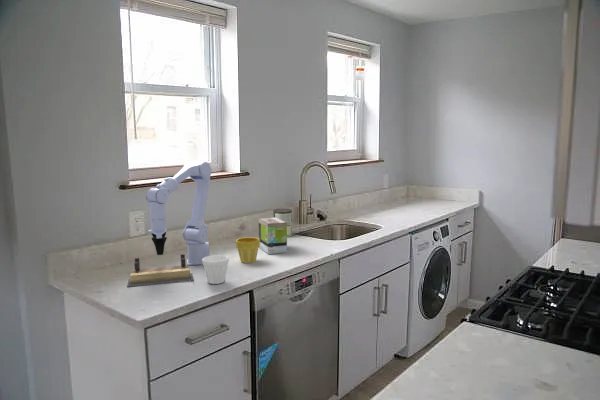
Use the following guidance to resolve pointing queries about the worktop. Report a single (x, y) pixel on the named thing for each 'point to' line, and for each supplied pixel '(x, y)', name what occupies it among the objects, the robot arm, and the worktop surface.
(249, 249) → the plant pot
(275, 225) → the tea box
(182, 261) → the hook rack
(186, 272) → the brass rail
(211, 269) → the cup
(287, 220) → the coffee can
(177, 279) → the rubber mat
